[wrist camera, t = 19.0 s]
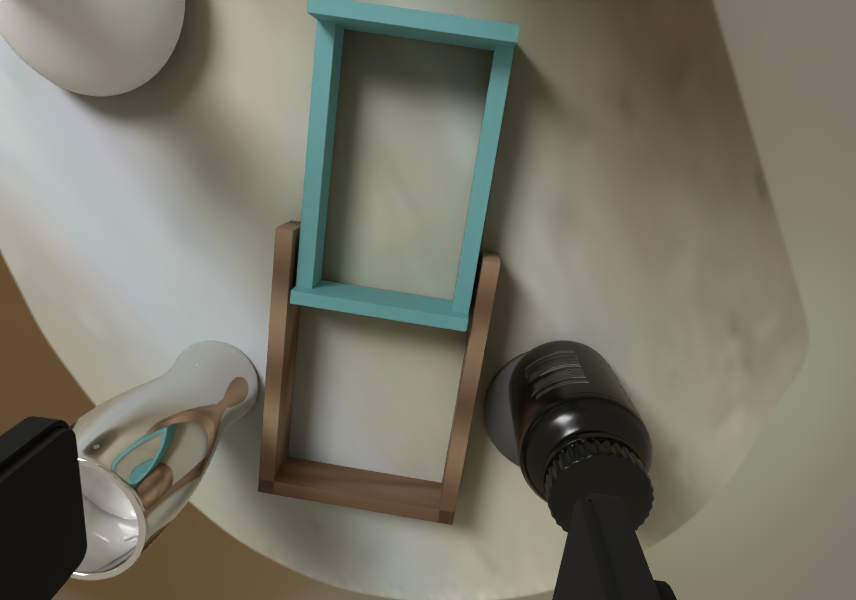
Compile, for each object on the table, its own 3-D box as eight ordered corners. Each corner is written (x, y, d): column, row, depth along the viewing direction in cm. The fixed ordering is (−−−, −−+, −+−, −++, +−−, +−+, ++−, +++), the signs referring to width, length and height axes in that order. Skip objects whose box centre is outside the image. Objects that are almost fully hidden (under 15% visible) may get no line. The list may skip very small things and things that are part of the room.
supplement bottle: (497, 422, 39) (507, 544, 27) (521, 327, 37) (543, 416, 25) (598, 443, 39) (651, 575, 27) (627, 349, 37) (698, 449, 25)
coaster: (497, 336, 38) (497, 340, 37) (634, 359, 37) (637, 362, 37) (474, 457, 40) (474, 461, 40) (603, 478, 40) (604, 483, 39)
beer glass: (286, 393, 40) (181, 540, 26) (213, 443, 42) (76, 608, 27) (219, 314, 39) (71, 423, 24) (147, 369, 40) (-33, 501, 26)
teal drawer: (328, 11, 33) (308, -6, 29) (514, 38, 32) (520, 24, 28) (304, 289, 37) (284, 308, 33) (466, 315, 37) (466, 337, 33)
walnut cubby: (291, 220, 37) (275, 228, 34) (498, 252, 36) (500, 263, 33) (273, 466, 42) (258, 491, 39) (453, 497, 41) (452, 524, 38)
